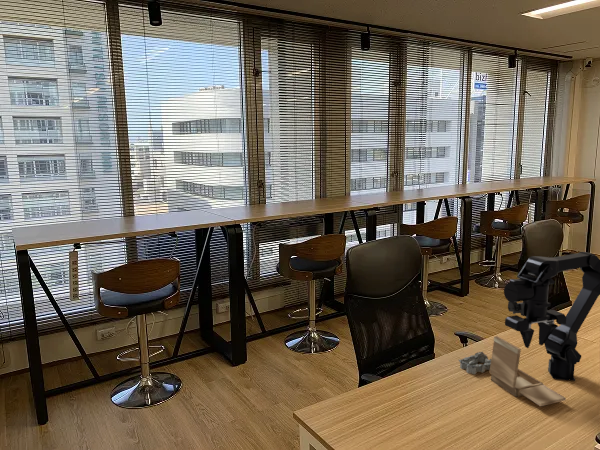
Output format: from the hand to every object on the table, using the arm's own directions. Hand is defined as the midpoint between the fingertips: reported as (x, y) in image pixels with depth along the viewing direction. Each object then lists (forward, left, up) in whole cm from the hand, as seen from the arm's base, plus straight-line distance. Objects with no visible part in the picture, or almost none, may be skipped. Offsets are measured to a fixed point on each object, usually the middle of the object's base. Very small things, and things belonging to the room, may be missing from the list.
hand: (533, 346), depth 149 cm
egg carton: (+16, -6, -12) cm, 21 cm away
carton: (+3, +7, -12) cm, 14 cm away
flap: (+9, +6, -9) cm, 14 cm away
